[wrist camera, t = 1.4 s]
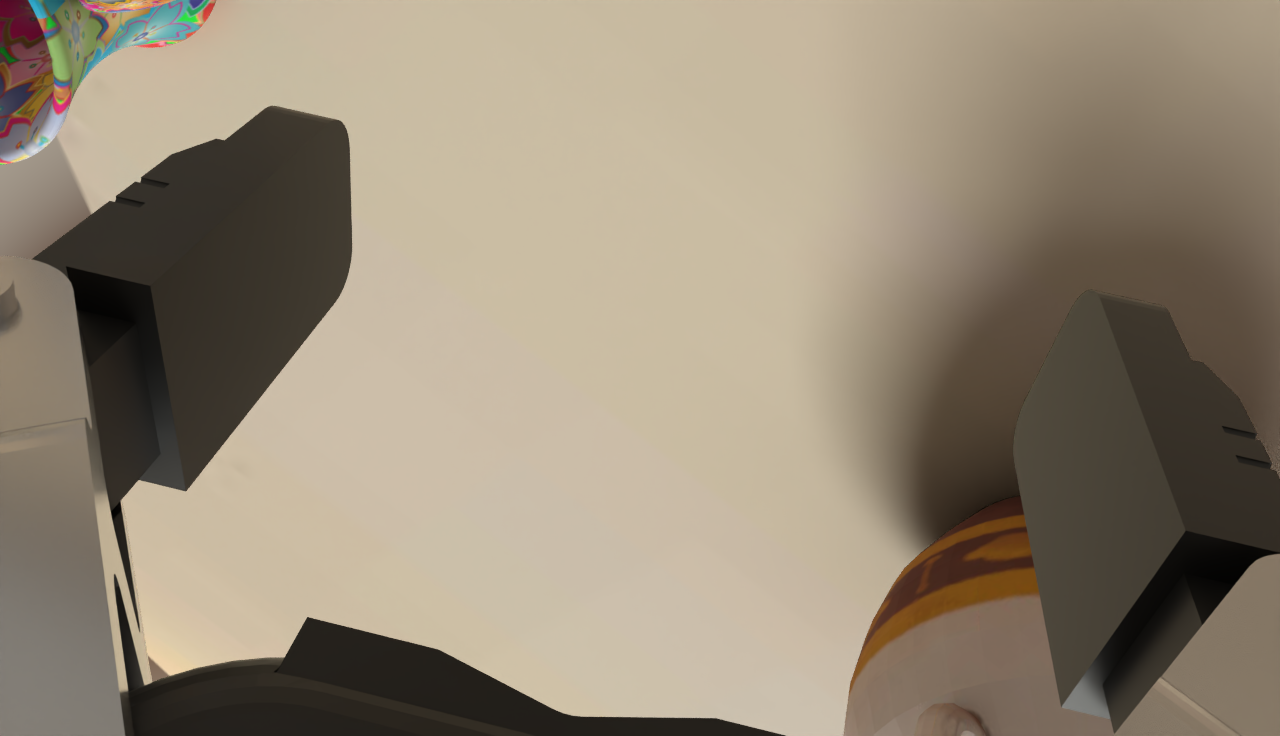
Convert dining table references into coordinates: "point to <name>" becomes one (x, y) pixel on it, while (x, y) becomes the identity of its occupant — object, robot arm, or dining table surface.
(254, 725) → the robot arm
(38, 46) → the mug
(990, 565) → the jug
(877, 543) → the dining table surface
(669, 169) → the dining table surface
